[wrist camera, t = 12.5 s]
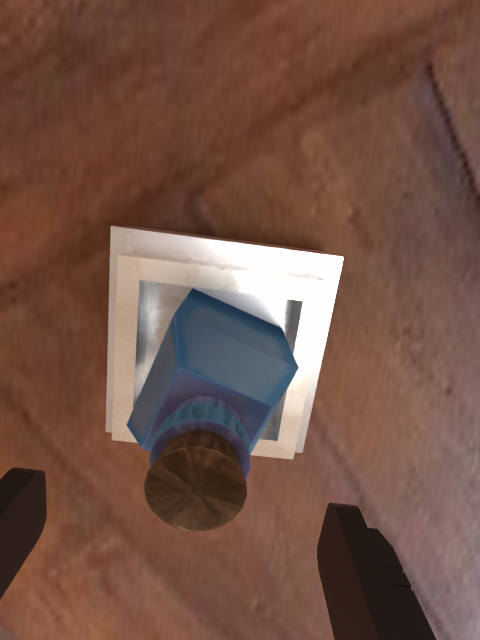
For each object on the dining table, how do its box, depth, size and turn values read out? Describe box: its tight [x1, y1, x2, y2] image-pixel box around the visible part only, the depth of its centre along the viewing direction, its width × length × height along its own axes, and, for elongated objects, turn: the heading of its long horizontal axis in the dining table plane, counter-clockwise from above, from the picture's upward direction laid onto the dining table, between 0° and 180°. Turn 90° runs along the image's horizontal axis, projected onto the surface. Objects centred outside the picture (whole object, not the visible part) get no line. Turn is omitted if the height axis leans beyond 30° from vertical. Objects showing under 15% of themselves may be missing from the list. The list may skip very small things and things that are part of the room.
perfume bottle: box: [127, 288, 299, 531], centre depth 16 cm, size 6×6×12 cm
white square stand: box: [106, 226, 344, 459], centre depth 23 cm, size 14×14×8 cm
